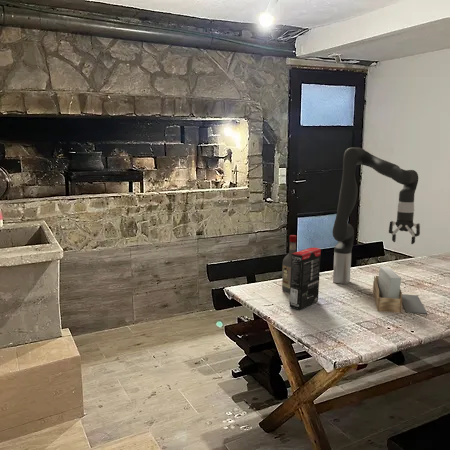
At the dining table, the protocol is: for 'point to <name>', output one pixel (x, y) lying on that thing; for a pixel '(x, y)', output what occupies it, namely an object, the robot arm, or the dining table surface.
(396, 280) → the skincare box
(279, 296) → the dining table surface
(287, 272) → the liquor
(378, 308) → the carton
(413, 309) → the mat
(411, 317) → the dining table surface
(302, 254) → the graphics card box
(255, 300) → the dining table surface
